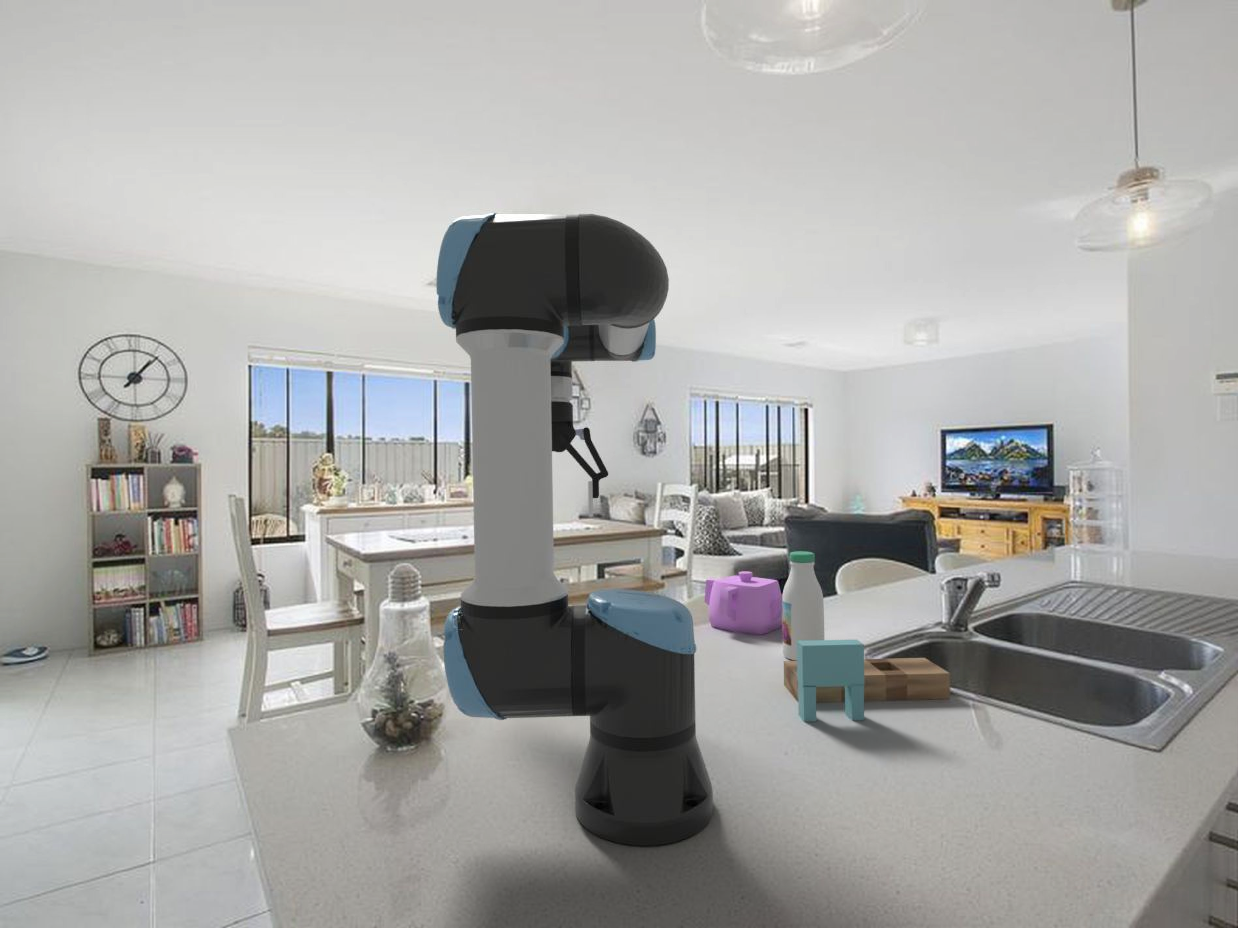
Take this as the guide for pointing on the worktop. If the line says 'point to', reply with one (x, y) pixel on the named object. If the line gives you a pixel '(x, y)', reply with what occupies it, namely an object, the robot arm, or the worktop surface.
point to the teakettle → (744, 603)
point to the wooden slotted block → (885, 681)
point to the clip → (830, 674)
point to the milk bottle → (801, 604)
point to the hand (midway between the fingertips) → (554, 517)
